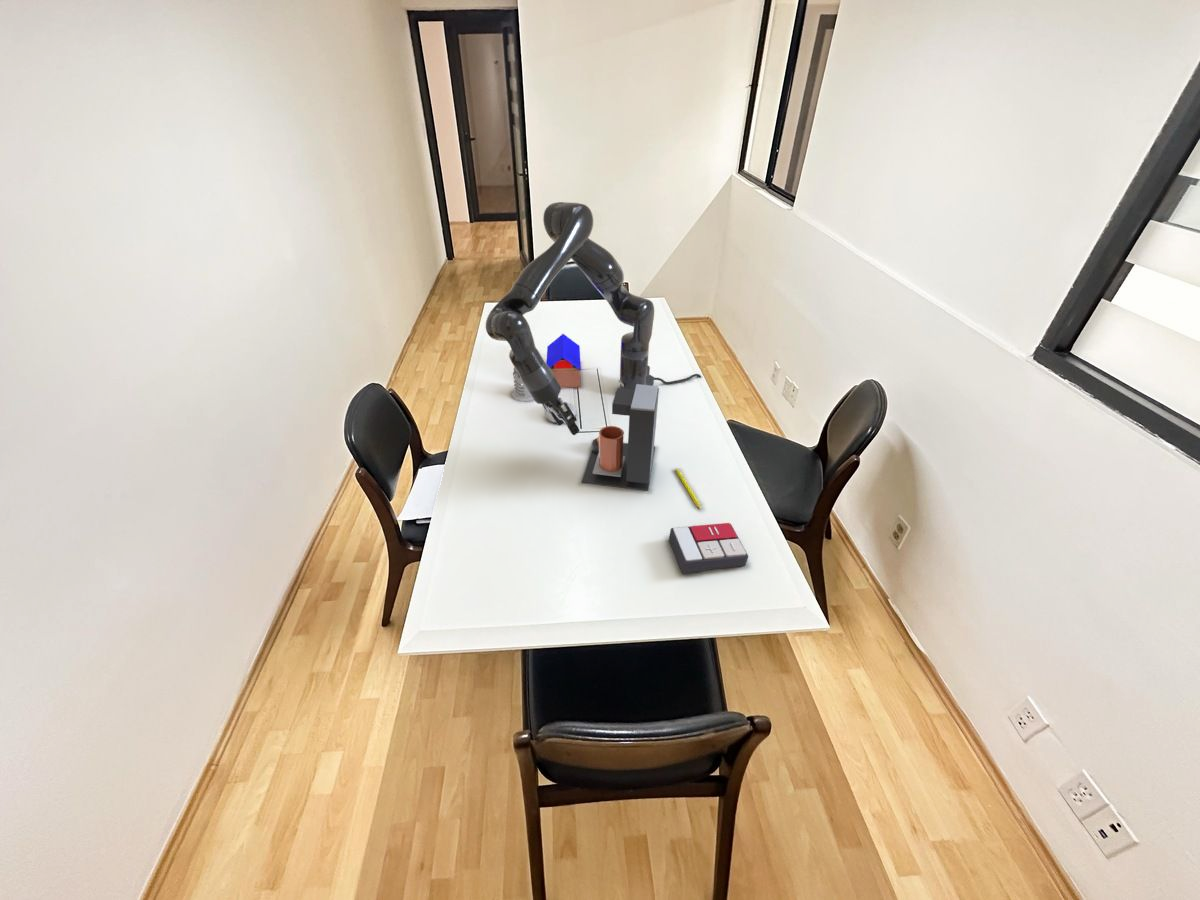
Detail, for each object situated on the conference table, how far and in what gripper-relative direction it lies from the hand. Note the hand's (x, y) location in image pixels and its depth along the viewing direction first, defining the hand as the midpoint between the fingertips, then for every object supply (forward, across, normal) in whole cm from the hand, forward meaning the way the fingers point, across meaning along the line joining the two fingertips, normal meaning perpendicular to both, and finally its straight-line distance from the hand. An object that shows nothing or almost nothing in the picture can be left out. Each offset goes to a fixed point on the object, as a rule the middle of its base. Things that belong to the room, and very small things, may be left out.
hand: (568, 428), depth 141 cm
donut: (+10, +25, -6) cm, 28 cm away
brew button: (+13, +3, -7) cm, 15 cm away
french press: (+6, +44, -4) cm, 45 cm away
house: (+12, +50, -21) cm, 55 cm away
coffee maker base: (+17, -5, -6) cm, 18 cm away
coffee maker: (+15, -10, -5) cm, 18 cm away
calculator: (+23, -43, -2) cm, 49 cm away
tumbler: (+13, -8, -3) cm, 15 cm away
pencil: (+24, -23, -13) cm, 36 cm away
